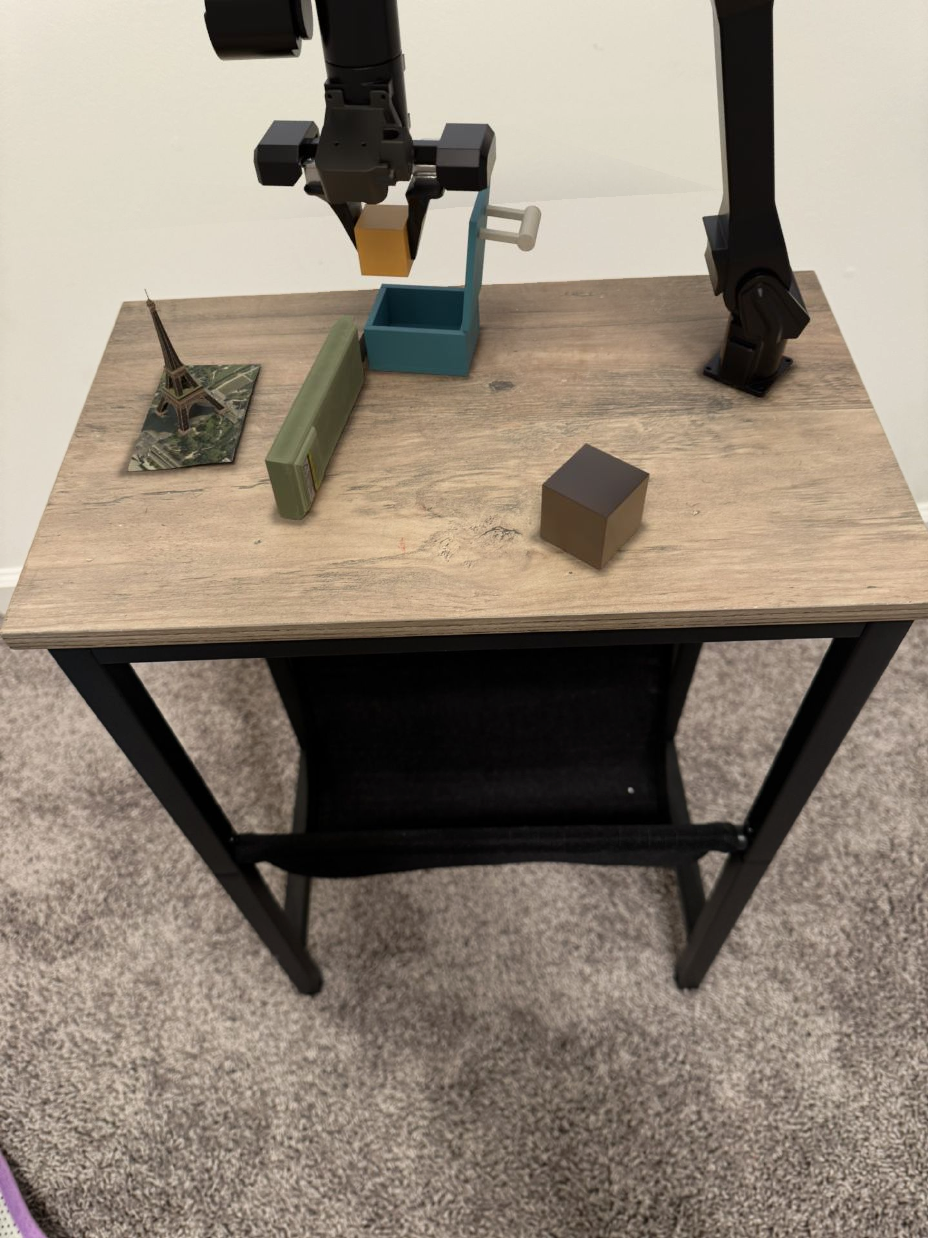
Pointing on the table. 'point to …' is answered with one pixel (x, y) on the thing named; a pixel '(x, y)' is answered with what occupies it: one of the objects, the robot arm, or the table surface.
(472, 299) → the teal lid with handle
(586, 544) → the stand
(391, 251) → the block
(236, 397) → the eiffel tower figurine
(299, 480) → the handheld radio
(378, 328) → the teal open box
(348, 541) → the table surface
